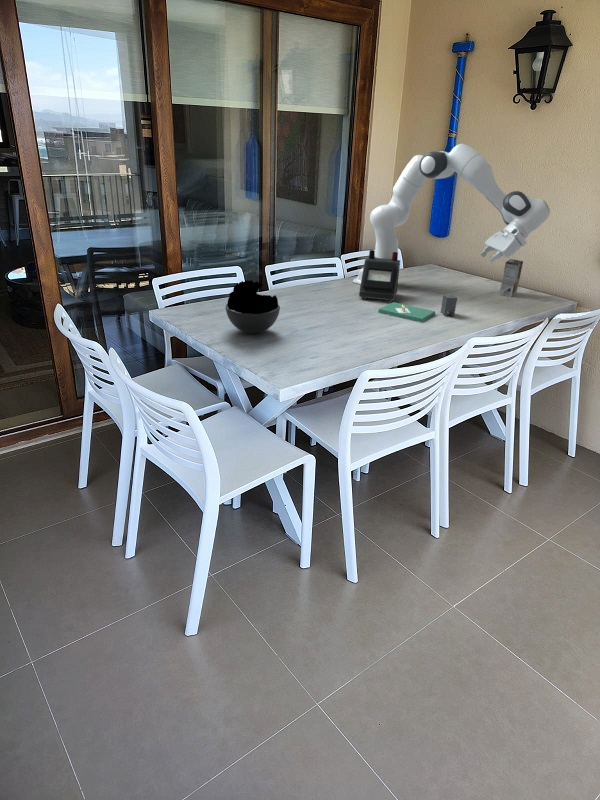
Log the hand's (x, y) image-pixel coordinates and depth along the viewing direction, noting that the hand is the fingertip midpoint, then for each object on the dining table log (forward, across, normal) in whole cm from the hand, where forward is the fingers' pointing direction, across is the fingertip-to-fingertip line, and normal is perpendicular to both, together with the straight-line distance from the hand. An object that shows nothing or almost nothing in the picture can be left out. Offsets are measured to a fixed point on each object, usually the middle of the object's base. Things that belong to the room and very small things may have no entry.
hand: (485, 258), depth 224 cm
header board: (+38, -1, -4) cm, 39 cm away
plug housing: (+26, 0, +8) cm, 27 cm away
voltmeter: (+44, -26, -10) cm, 52 cm away
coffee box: (-4, -35, +38) cm, 52 cm away
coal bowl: (+85, +25, -51) cm, 102 cm away
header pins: (+39, 0, -7) cm, 39 cm away
